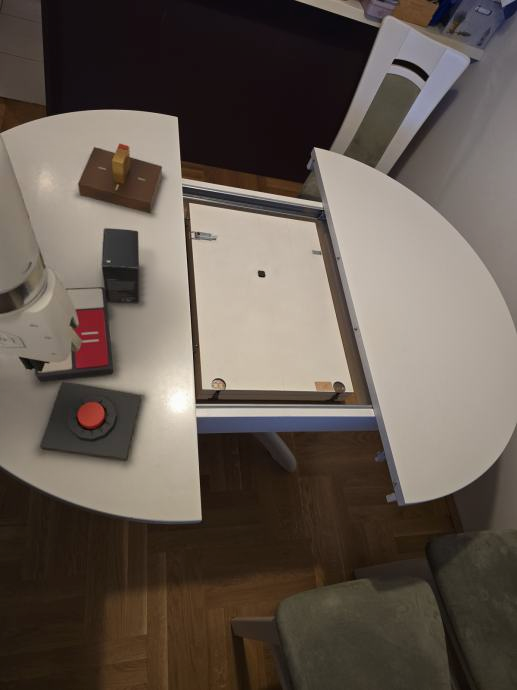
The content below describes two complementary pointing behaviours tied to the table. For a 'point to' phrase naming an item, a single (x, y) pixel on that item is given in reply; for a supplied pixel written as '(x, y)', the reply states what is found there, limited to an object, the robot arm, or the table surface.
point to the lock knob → (121, 163)
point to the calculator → (85, 339)
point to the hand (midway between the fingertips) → (39, 358)
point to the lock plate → (131, 194)
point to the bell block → (102, 440)
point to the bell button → (91, 415)
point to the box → (121, 265)
